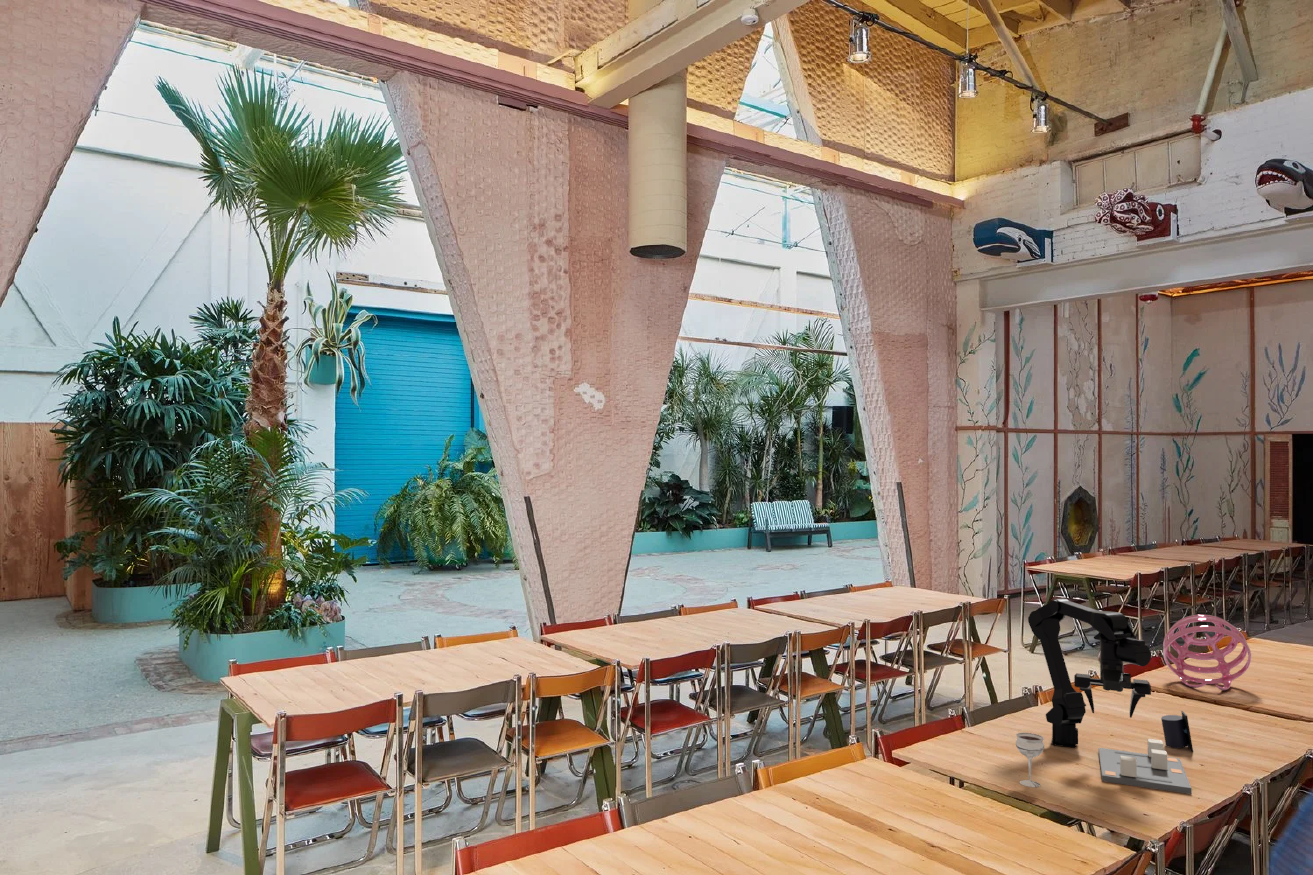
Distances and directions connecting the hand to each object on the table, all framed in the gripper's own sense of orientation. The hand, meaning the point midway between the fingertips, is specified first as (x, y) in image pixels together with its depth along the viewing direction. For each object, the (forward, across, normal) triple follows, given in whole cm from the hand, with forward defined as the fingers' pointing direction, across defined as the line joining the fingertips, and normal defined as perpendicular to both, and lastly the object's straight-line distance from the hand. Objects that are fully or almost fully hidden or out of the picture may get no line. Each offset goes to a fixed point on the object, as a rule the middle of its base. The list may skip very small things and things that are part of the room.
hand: (1111, 715), depth 245 cm
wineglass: (+13, -20, -28) cm, 37 cm away
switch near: (+11, +3, -15) cm, 19 cm away
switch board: (+13, +7, -5) cm, 16 cm away
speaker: (+13, +18, +24) cm, 33 cm away
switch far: (+11, +11, +5) cm, 16 cm away
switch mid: (+11, +11, -5) cm, 16 cm away
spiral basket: (+13, +37, +113) cm, 120 cm away
